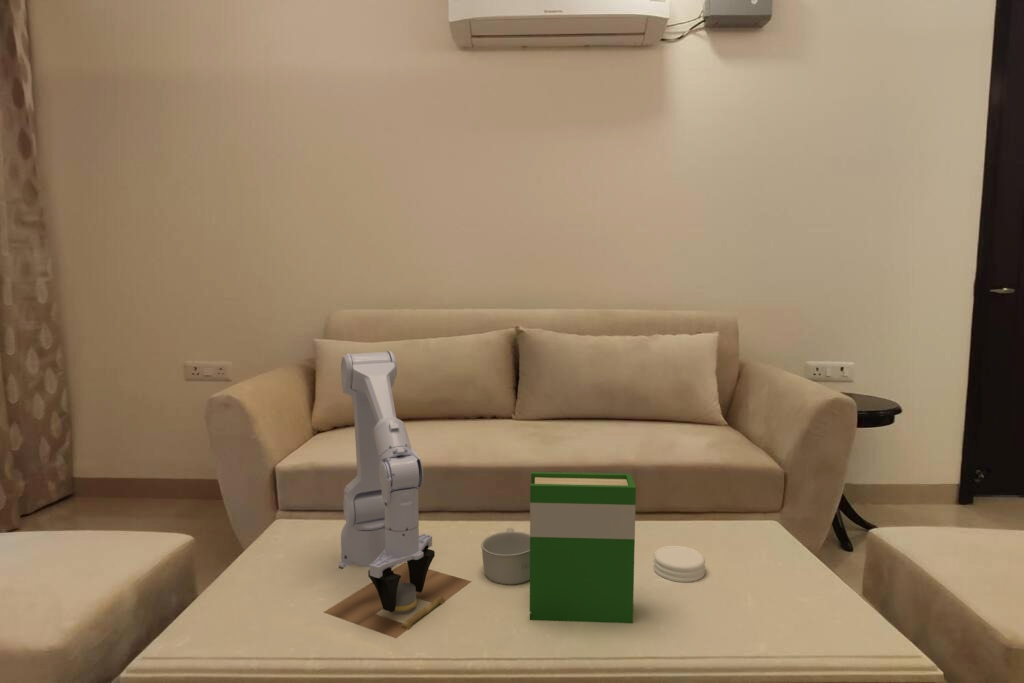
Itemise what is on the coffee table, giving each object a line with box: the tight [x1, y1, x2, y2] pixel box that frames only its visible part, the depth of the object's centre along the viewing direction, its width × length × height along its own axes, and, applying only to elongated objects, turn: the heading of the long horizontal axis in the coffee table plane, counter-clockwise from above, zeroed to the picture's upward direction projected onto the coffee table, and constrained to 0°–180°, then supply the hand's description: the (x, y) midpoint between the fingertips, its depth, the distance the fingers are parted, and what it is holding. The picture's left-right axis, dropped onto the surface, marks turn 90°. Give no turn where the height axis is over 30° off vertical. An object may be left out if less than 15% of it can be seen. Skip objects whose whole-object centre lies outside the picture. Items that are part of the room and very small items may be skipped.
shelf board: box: [323, 562, 472, 639], centre depth 118 cm, size 16×22×2 cm
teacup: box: [480, 527, 530, 586], centre depth 128 cm, size 14×11×8 cm
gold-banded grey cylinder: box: [392, 582, 418, 615], centre depth 114 cm, size 5×5×5 cm
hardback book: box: [529, 471, 637, 624], centre depth 115 cm, size 18×7×24 cm, turn 87°
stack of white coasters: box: [653, 545, 706, 583], centre depth 131 cm, size 10×10×4 cm
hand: (403, 600), depth 114 cm, fingers open, 7 cm apart
